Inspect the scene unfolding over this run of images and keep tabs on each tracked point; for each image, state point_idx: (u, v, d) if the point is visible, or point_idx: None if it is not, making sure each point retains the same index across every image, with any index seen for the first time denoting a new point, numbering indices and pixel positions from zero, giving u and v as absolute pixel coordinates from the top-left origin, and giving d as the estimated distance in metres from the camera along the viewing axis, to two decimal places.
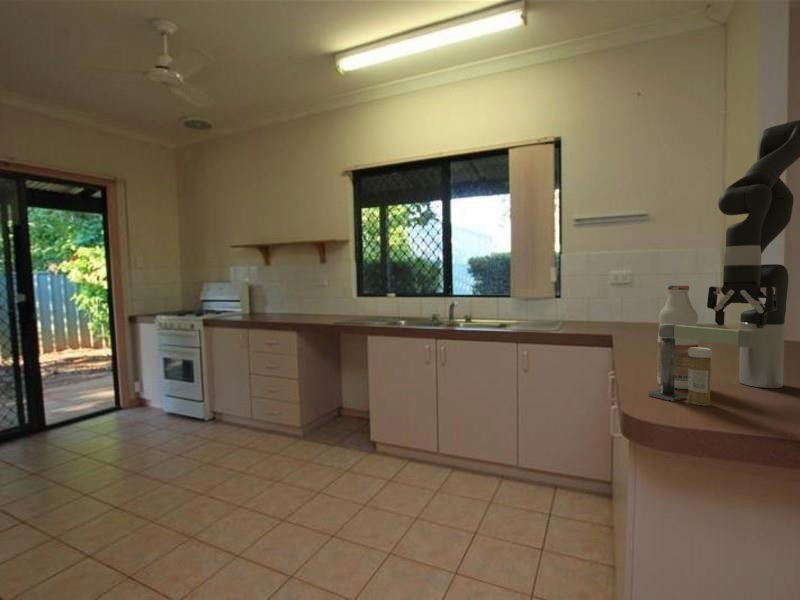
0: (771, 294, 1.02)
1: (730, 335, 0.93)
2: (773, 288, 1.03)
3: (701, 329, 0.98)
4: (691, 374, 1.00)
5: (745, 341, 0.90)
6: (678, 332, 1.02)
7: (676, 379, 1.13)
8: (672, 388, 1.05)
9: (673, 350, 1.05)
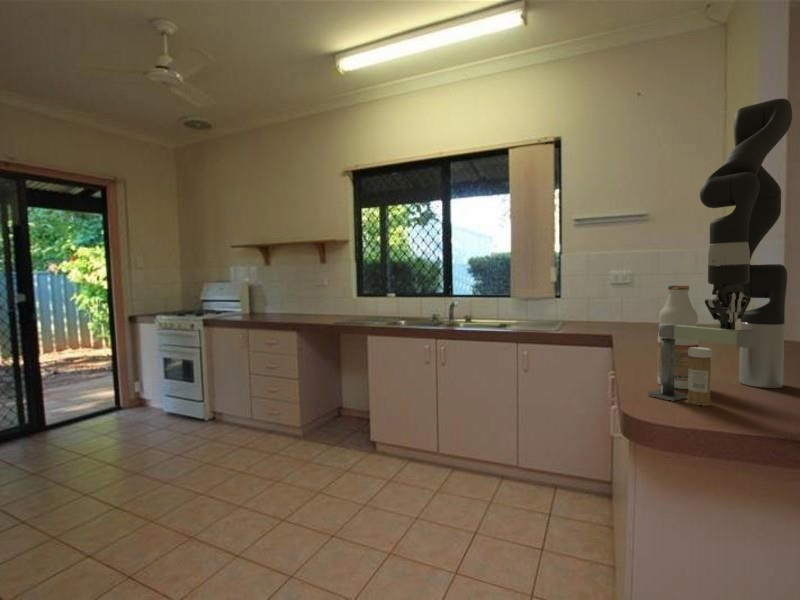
0: (747, 304, 0.97)
1: (729, 335, 0.93)
2: None
3: (700, 329, 0.98)
4: (691, 374, 1.00)
5: (743, 341, 0.90)
6: (678, 332, 1.02)
7: (676, 379, 1.13)
8: (672, 388, 1.05)
9: (673, 350, 1.05)
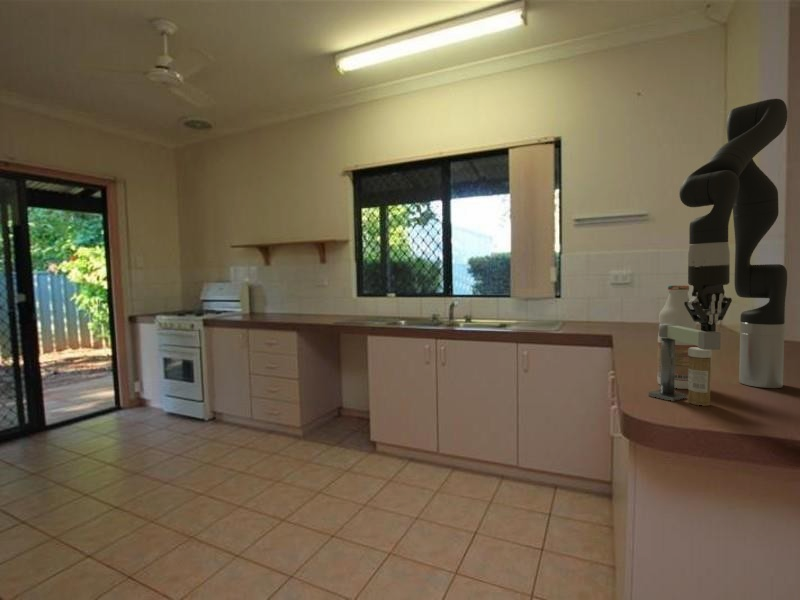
0: (728, 306, 0.95)
1: (695, 336, 0.92)
2: None
3: (681, 330, 0.98)
4: (691, 374, 1.00)
5: (702, 343, 0.89)
6: (669, 332, 1.03)
7: (676, 379, 1.13)
8: (672, 388, 1.05)
9: (673, 350, 1.05)
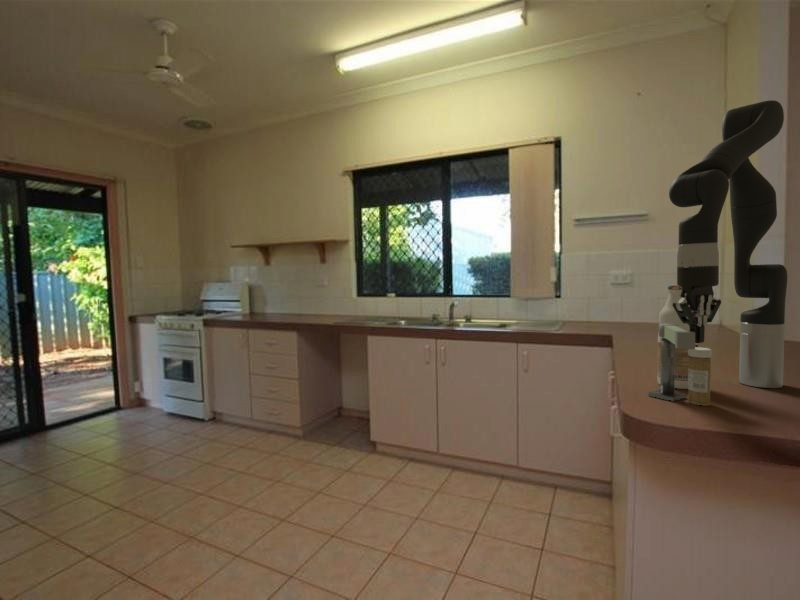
0: (717, 308, 0.94)
1: None
2: None
3: (669, 329, 0.99)
4: (691, 374, 1.00)
5: (676, 342, 0.91)
6: (665, 332, 1.03)
7: (676, 379, 1.13)
8: (672, 388, 1.05)
9: (673, 350, 1.05)
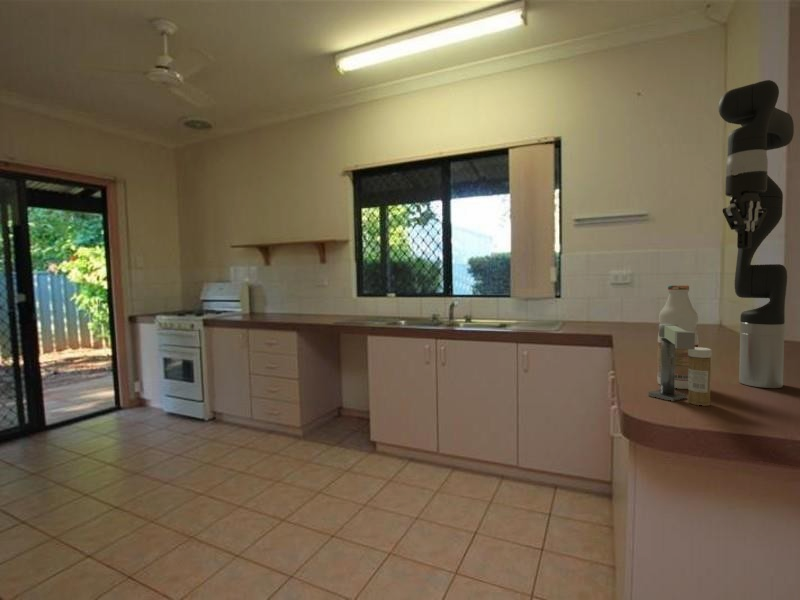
0: (764, 216, 0.99)
1: (675, 336, 0.93)
2: None
3: (669, 329, 0.99)
4: (691, 374, 1.00)
5: (676, 342, 0.91)
6: (665, 332, 1.03)
7: (676, 379, 1.13)
8: (672, 388, 1.05)
9: (673, 350, 1.05)
